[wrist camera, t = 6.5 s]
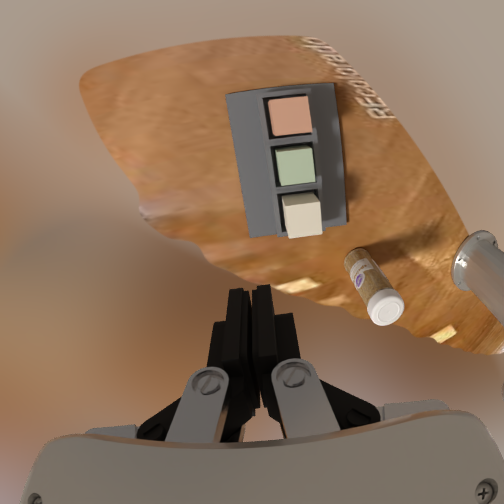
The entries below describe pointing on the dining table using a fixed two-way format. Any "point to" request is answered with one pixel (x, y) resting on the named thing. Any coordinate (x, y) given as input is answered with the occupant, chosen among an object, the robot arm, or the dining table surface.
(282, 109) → the terracotta button
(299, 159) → the green button
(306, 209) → the cream button
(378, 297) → the sprinkles bottle
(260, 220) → the button panel
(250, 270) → the dining table surface
